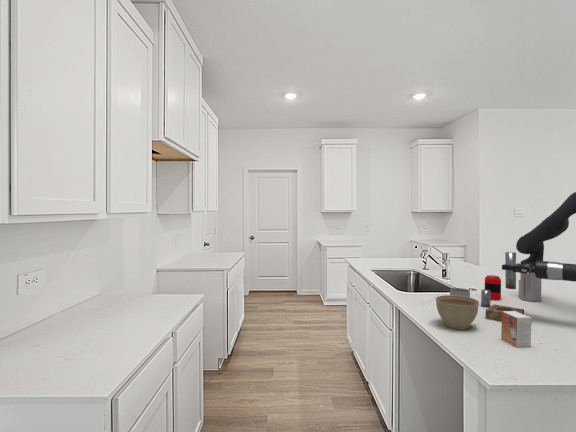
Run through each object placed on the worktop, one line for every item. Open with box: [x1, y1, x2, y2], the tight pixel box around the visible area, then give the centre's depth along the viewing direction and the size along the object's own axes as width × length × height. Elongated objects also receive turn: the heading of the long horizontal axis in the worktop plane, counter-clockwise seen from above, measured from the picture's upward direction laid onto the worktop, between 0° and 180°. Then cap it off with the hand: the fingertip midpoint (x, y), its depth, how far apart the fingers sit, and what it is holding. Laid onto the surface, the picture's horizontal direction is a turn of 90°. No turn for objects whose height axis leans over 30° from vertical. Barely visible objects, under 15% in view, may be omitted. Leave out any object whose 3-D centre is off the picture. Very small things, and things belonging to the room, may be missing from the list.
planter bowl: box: [435, 294, 480, 330], centre depth 147 cm, size 16×16×11 cm
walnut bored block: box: [485, 303, 525, 323], centre depth 156 cm, size 12×12×4 cm
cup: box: [449, 287, 471, 298], centre depth 168 cm, size 8×8×10 cm
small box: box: [500, 311, 532, 348], centre depth 129 cm, size 8×6×10 cm
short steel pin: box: [480, 288, 492, 309], centre depth 175 cm, size 4×4×8 cm
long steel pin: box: [504, 251, 517, 290], centre depth 159 cm, size 4×4×16 cm
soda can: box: [484, 274, 502, 301], centre depth 190 cm, size 8×8×12 cm
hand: (503, 266), depth 161 cm, fingers closed on long steel pin, 4 cm apart
